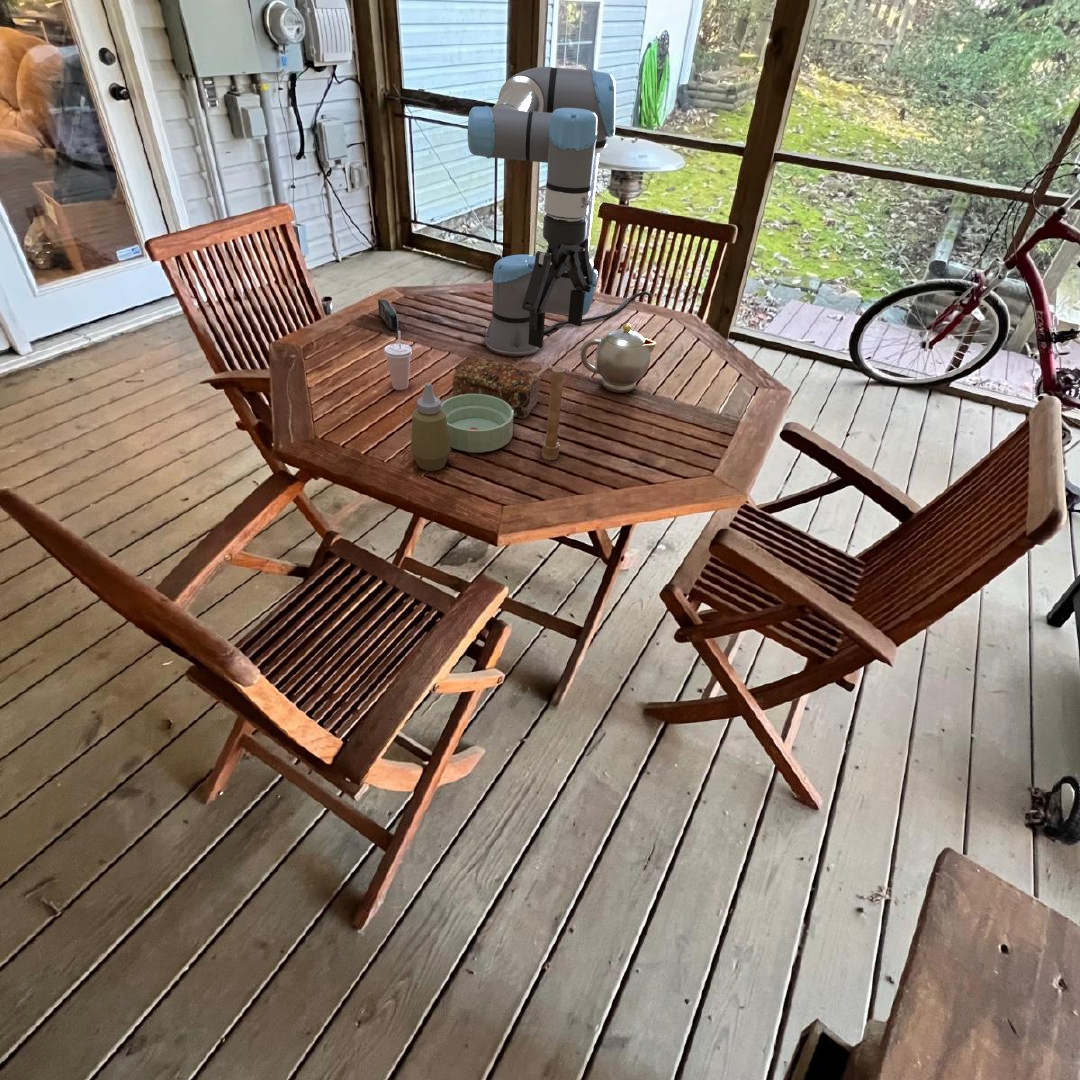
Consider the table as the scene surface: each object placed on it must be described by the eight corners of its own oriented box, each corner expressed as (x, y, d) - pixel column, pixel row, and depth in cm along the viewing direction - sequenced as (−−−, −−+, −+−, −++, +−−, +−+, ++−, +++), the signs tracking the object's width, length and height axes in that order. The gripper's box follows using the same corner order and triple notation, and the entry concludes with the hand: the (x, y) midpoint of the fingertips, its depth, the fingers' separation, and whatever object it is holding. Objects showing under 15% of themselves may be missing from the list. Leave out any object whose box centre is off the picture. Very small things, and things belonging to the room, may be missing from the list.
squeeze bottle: (412, 452, 144) (408, 374, 133) (451, 453, 145) (450, 374, 134) (410, 474, 138) (405, 393, 127) (450, 474, 139) (449, 394, 128)
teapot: (648, 378, 179) (660, 317, 169) (645, 402, 169) (657, 339, 158) (581, 369, 181) (587, 307, 171) (573, 392, 171) (580, 328, 160)
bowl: (469, 410, 160) (470, 386, 156) (526, 433, 154) (528, 409, 150) (423, 437, 149) (421, 413, 146) (481, 464, 143) (482, 439, 139)
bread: (451, 405, 161) (450, 366, 155) (468, 386, 169) (469, 348, 163) (526, 422, 157) (528, 382, 151) (540, 402, 165) (543, 363, 159)
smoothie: (408, 394, 164) (405, 338, 155) (382, 390, 165) (378, 334, 156) (417, 382, 169) (414, 327, 160) (392, 378, 169) (388, 323, 161)
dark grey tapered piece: (375, 298, 196) (391, 316, 186) (386, 297, 198) (401, 315, 187) (377, 315, 200) (392, 334, 189) (387, 314, 201) (403, 333, 190)
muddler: (552, 449, 149) (560, 364, 136) (561, 457, 147) (570, 371, 134) (538, 453, 148) (545, 367, 135) (547, 462, 145) (555, 375, 133)
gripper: (543, 235, 108) (534, 361, 121) (620, 207, 124) (605, 321, 138) (504, 224, 111) (500, 349, 124) (585, 198, 127) (573, 311, 141)
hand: (555, 334), depth 131 cm, fingers open, 13 cm apart
